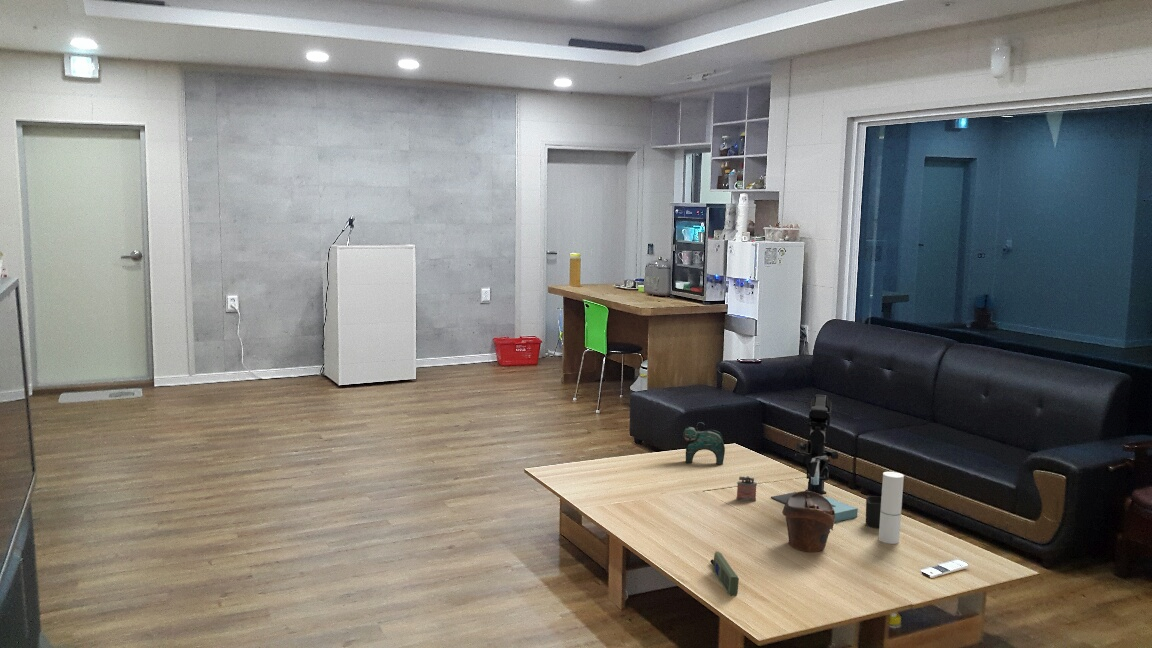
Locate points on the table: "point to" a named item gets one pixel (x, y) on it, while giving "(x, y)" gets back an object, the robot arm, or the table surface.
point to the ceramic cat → (703, 443)
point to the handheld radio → (725, 574)
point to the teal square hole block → (842, 510)
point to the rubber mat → (783, 497)
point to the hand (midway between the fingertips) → (815, 476)
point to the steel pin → (816, 474)
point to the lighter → (746, 489)
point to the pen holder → (873, 511)
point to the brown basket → (808, 520)
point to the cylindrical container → (891, 507)
